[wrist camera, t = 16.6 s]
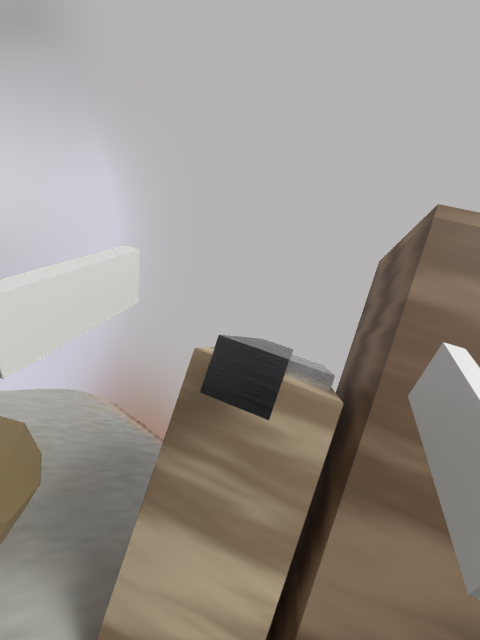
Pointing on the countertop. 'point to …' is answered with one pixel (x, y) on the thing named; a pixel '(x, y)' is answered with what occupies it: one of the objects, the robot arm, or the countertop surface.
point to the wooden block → (390, 460)
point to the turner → (257, 373)
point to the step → (221, 515)
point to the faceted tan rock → (16, 471)
